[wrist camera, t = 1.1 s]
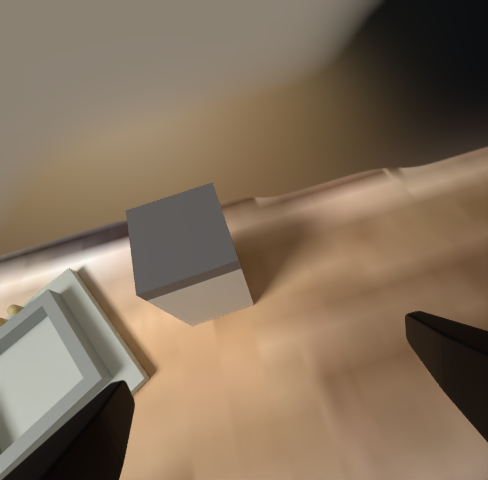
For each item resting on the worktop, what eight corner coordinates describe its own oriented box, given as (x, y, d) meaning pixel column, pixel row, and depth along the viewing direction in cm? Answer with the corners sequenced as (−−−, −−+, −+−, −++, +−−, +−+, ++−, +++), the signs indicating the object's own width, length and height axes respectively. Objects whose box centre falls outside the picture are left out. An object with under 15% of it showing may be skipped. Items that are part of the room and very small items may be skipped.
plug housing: (253, 305, 23) (238, 260, 14) (192, 326, 22) (136, 295, 14) (235, 250, 25) (212, 182, 16) (179, 269, 25) (125, 210, 16)
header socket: (149, 378, 21) (134, 378, 19) (-5, 532, 18) (-45, 554, 16) (76, 271, 26) (57, 262, 24) (-55, 376, 23) (-90, 376, 21)
